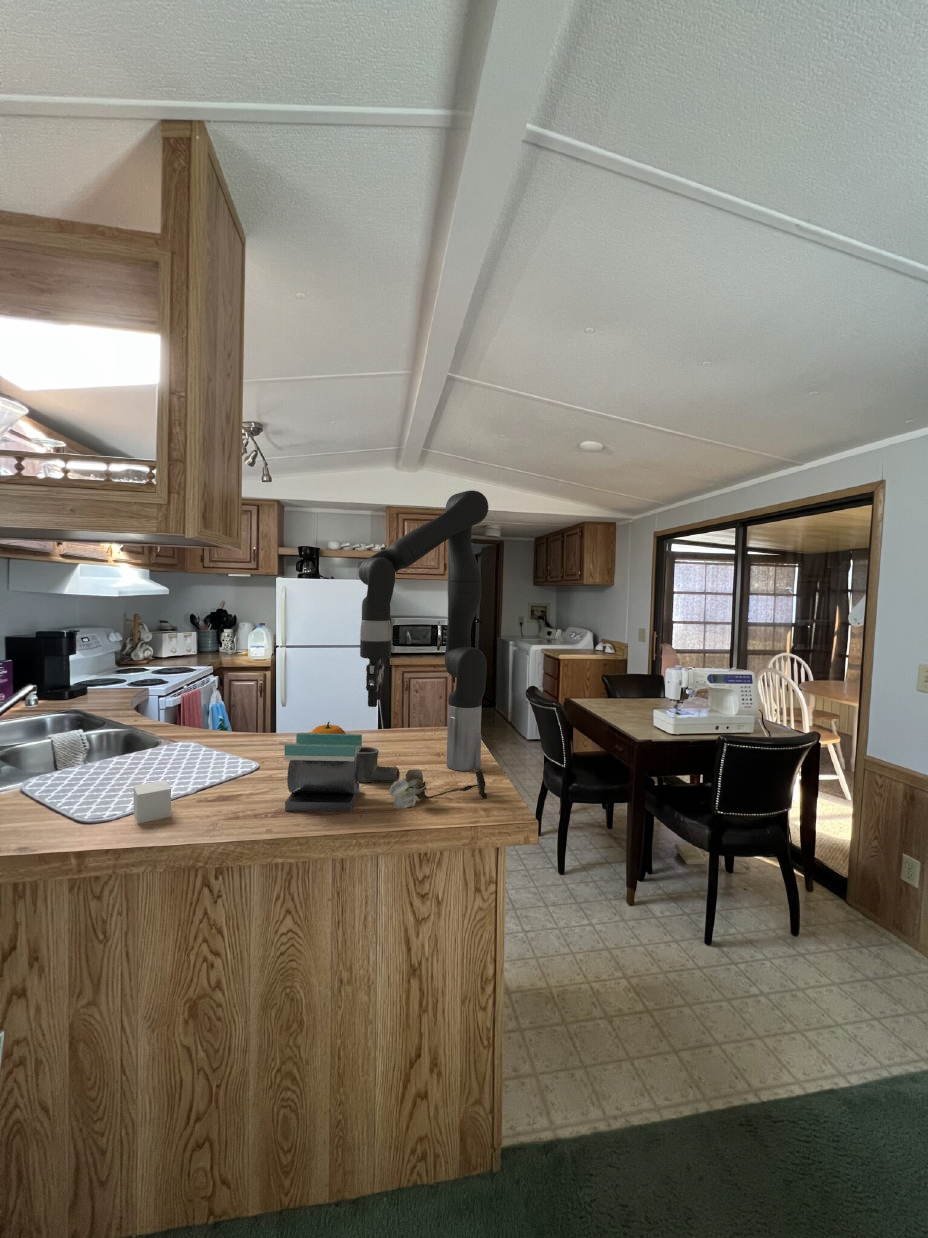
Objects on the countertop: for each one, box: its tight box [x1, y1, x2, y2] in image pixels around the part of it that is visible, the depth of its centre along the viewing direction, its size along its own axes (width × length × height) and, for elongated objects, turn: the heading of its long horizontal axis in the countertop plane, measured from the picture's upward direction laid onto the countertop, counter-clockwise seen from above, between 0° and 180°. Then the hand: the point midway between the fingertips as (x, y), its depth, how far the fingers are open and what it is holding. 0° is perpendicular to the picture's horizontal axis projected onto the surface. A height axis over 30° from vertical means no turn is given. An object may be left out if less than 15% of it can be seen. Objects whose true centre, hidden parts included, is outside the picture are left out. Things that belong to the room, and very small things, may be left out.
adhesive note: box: [133, 779, 172, 825], centre depth 111 cm, size 6×6×6 cm
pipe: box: [358, 746, 401, 783], centre depth 135 cm, size 6×13×8 cm, turn 78°
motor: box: [283, 732, 363, 813], centre depth 121 cm, size 15×12×14 cm
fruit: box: [310, 721, 347, 734], centre depth 154 cm, size 12×12×10 cm
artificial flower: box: [389, 769, 488, 809], centre depth 124 cm, size 9×22×10 cm, turn 101°
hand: (374, 703), depth 134 cm, fingers open, 8 cm apart
